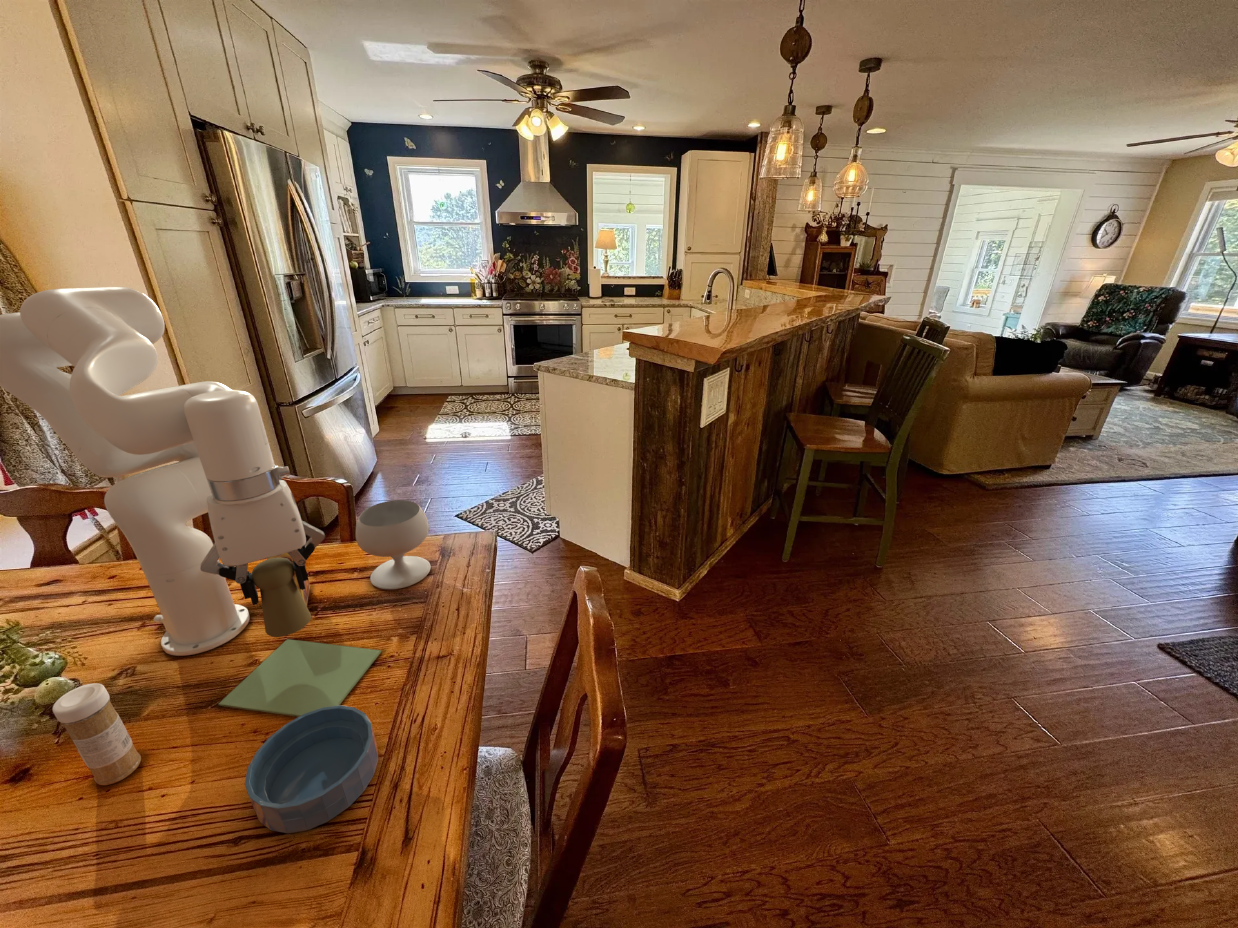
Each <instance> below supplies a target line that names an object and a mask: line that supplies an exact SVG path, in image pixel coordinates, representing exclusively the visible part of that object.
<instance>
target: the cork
mask: <svg viewBox="0 0 1238 928" xmlns="http://www.w3.org/2000/svg"><path fill="white" fill-rule="evenodd" d="M251 574H252V581H253V583H254V584H255V586H256V588H257V589H259V593H260V600H261V601H260V602H261V609H262V616H263V624H264V631H265V633H266V635H267V636H270V637H273V638H282V637H286V636H290V635H293V634H295V633H297V632H299V631H301V630H302V629H304V628H305V627H307V625H308V624H309V623H310V622H311V619H312V614H311V612H310V610H309V608H308V605H307V606H306V604H305V602H304V600H303V598H302V596H301V594H300V592H299V590H298V588H297V586H296V584H295V582H294V580H293V576H294V567H293V564H292V563H291V562H290V561H289V560H288V559H286V558H271V559H268V560H267V559H264V560H263V561H261V562H259V563H257V564H256V565H255V566H254V567H253V568H252V571H251Z"/></svg>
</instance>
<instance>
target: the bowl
mask: <svg viewBox="0 0 1238 928" xmlns="http://www.w3.org/2000/svg"><path fill="white" fill-rule="evenodd" d="M367 715H368V714H366V713H365V712H363V711H361V710H360V709H358V708H357V707H354V706H347V705H341V704H340V705H339V706H331V707H323V708H320V709H317V710H314V711H311V712H308V713H305V714H303V715H301V716H300V717H296V718H294V719H292V720H291V721H289V722H287V723H285V724H284V725H283V726H281V728H279V729H278V730H276V731H275V732H274V733H273V734H271V735H270V736H269V737H268V738H267V739H266V740H265V741H264V742H263V744H262V745H261V746H260V747H259V748H258V749H257V751H256V752H255V754H254V755H253V757H252V758H251V761H250V763H249V764H248V767H247V769H246V774H245V781H244V786H245V789H246V792H247V795H248V798H249V800H250V803H251V805H252V808H253V809H254V812H255V815H256V817H257V820H258V822H259V823H260V824H262V825H263V826H264V827H266V828H267V829H268V830H270V831H272V832H276V833H277V832H278V833H284V834H293V833H297V832H305V831H309V830H312V829H314V828H316V827H318V826H321V825H323V824H326V823H327V822H329V821H331V820H332V819H334V818H335V817H338V815H340V814H342V812H344V811H346V810H347V809H348V808H349V807H351V806H352V805H353V804H354V803H355V801H356V800H357V799H358V798H359V797H360V796H361V795H363V793H364V792H365V790H366V789H367V788H368V786H369V784H370V782H371V781H372V779H373V777H374V776H375V773H376V769H377V765H378V762H379V749H378V743H377V739H376V736H375V731H374V727H373V724H372V721H371V720H370V718H369V717H368V716H367Z"/></svg>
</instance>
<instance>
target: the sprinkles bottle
mask: <svg viewBox="0 0 1238 928" xmlns="http://www.w3.org/2000/svg"><path fill="white" fill-rule="evenodd" d="M51 710H52V713H53V714H54V716H55V718H56V720H57V721H58V722H59V723H61V724H62V725H63V727H64V729H65V731H67V734H68V736H69V738H70V739H71V741H72V743H73V744H74V746H75V748H76V751H77V752H78V754H79V756H80V757H81V759H82V761H83V762H84V764H85V765H86V767H87V768H88V769H89V771H90V772H91V774H92V776H93V777H94V782H95V783H96V784H97V785H100V786H108V785H112V784H115V783H118V782H120V781H122V780H124V779H126V778H127V777H129V776H130V775H131V774H132V773H134V771H136V770H137V769H138V767H139V765H140V764H141V761H142V756H141V754H140V753H139V752H138V750H137V749H136V746H135V745H134V743H133V739H132V738H131V736H130V733H129V732H128V730H127V728H126V726H125V725H124V723H123V721H122V718H121V717H120V715H119V714H118V712H117V711H116V709H115V707H114V706H113V704H112V702H111V698H110V694H109V692H108V691H107V688H106V687H105V685H104V684H102V683H99V682H98V683H97V682H95V683H87V684H83V685H80V686H78V687H76V688H73V689H71V690H70V691H67V692H66V693H64V694H63V695H62V696H61V697H59V698H58V699H57V700H56V701H55V703H53V705H52V709H51Z"/></svg>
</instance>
